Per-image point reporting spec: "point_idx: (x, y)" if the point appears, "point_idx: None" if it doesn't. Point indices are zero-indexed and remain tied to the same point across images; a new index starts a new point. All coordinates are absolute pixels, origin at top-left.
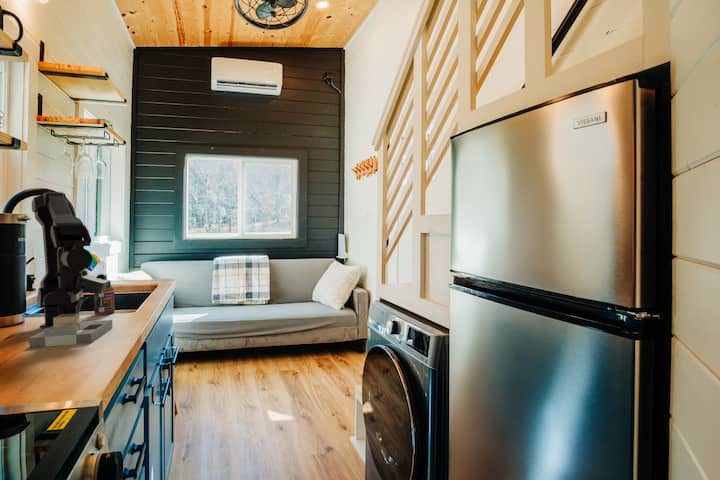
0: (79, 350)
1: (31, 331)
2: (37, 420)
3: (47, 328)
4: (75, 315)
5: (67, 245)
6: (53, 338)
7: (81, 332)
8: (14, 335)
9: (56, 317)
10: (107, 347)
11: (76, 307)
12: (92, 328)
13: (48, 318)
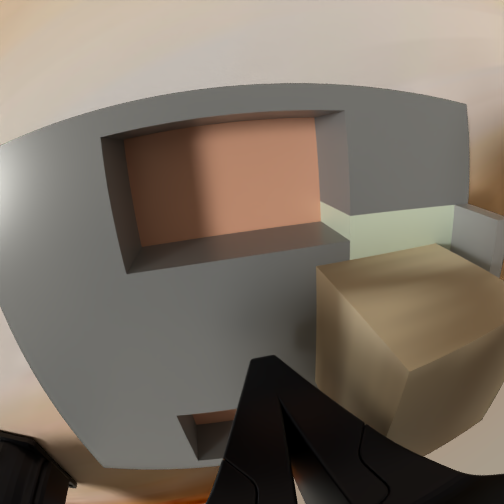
0: (499, 132)
1: (121, 489)
2: None
3: None
4: (498, 323)
5: None
6: None
7: (427, 192)
8: (177, 501)
9: (480, 414)
10: (474, 26)
11: (421, 478)
12: (130, 236)
13: (59, 497)
